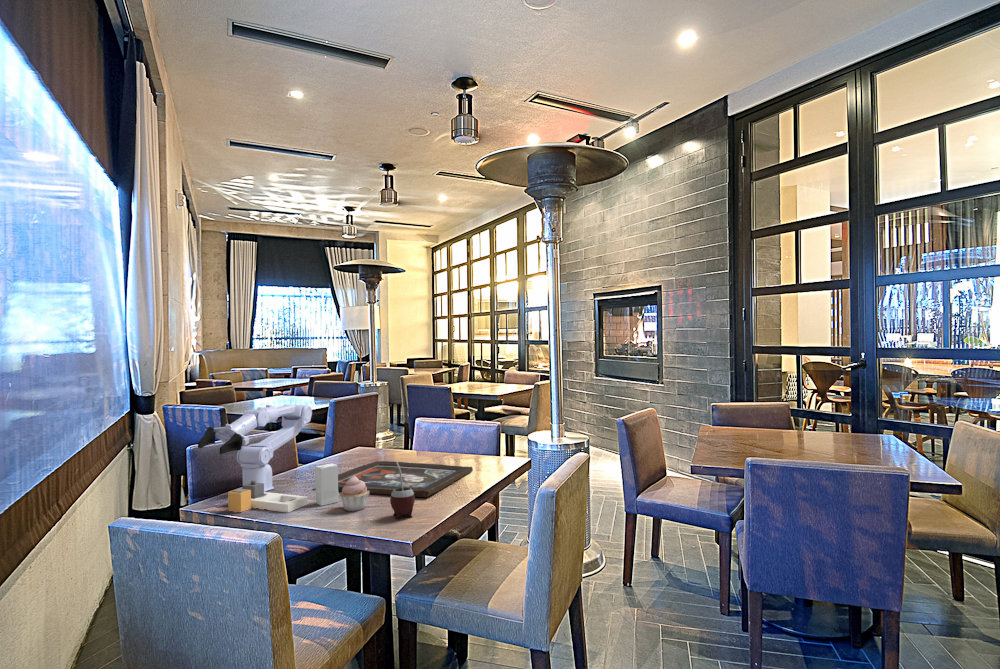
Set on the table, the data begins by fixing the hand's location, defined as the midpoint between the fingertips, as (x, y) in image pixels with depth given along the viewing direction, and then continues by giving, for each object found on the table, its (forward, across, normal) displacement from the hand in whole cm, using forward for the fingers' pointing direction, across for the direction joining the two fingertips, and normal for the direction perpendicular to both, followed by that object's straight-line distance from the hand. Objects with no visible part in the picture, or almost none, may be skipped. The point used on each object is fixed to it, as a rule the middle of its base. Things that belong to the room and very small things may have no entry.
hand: (209, 448), depth 177 cm
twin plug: (-3, +13, +18) cm, 23 cm away
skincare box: (-8, +36, +14) cm, 40 cm away
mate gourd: (0, +64, +6) cm, 65 cm away
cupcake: (-4, +48, +11) cm, 49 cm away
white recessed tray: (-3, +19, +17) cm, 25 cm away
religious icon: (-38, +50, +21) cm, 66 cm away
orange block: (+4, +14, +16) cm, 22 cm away
